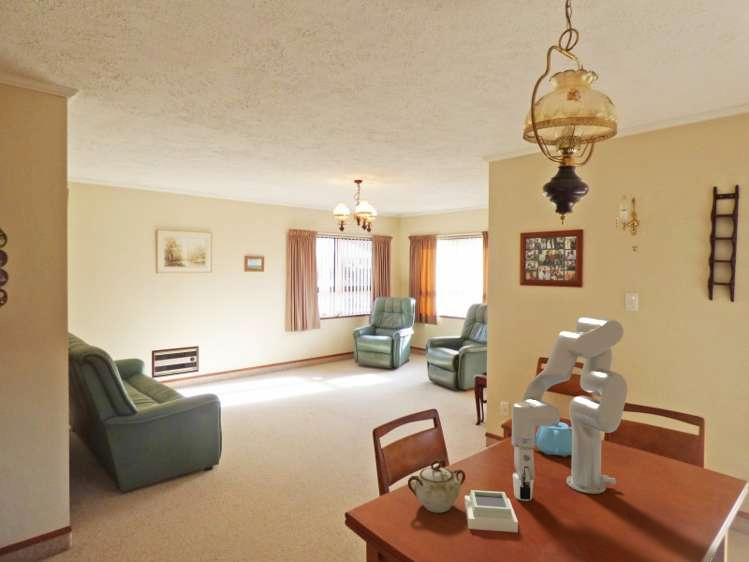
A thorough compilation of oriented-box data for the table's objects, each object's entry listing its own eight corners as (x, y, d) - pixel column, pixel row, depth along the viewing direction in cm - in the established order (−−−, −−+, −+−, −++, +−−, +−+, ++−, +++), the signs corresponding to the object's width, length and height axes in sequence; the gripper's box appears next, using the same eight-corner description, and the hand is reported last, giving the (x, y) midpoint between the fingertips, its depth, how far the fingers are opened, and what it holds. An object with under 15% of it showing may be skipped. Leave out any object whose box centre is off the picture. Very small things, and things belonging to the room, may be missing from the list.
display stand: (508, 507, 144) (509, 489, 144) (517, 532, 130) (518, 512, 130) (464, 504, 145) (464, 487, 145) (468, 528, 131) (468, 509, 131)
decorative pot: (556, 443, 201) (556, 412, 201) (584, 456, 186) (585, 423, 185) (526, 447, 195) (526, 416, 195) (553, 461, 180) (553, 428, 180)
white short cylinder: (530, 492, 154) (531, 472, 154) (535, 502, 147) (536, 481, 147) (510, 491, 155) (510, 471, 155) (514, 501, 148) (514, 480, 148)
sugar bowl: (415, 522, 135) (415, 472, 135) (400, 498, 149) (401, 453, 149) (475, 514, 139) (475, 466, 139) (455, 491, 154) (455, 448, 154)
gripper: (541, 451, 142) (540, 507, 142) (529, 432, 159) (528, 482, 159) (517, 450, 143) (516, 505, 143) (507, 431, 160) (506, 481, 160)
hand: (522, 493), depth 151 cm, fingers closed on white short cylinder, 6 cm apart
